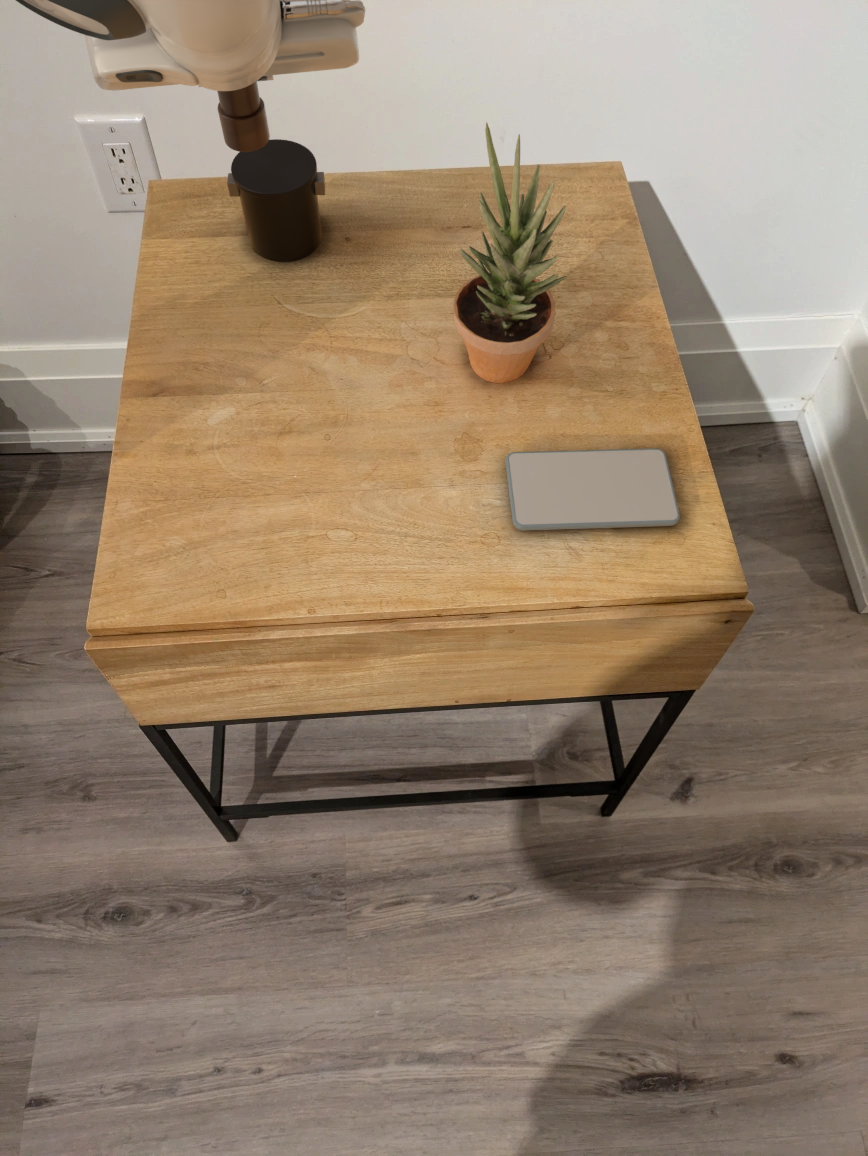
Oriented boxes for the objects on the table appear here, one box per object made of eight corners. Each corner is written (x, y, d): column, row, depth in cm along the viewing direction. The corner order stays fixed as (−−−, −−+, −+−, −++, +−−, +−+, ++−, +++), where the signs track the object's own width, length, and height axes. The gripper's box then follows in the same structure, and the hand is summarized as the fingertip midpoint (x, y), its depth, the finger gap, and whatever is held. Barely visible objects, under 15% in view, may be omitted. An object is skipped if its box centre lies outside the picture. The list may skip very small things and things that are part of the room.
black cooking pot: (238, 265, 91) (221, 194, 83) (243, 211, 95) (228, 139, 87) (329, 263, 91) (321, 192, 83) (330, 210, 95) (323, 138, 88)
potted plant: (440, 335, 86) (447, 98, 65) (528, 318, 87) (564, 81, 66) (467, 409, 82) (485, 181, 60) (560, 390, 83) (610, 160, 61)
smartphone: (682, 522, 75) (514, 527, 74) (679, 528, 75) (512, 533, 75) (664, 446, 79) (504, 450, 78) (662, 453, 79) (503, 457, 79)
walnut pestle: (222, 152, 74) (195, 33, 65) (226, 124, 76) (200, 5, 67) (268, 152, 74) (247, 33, 65) (271, 124, 76) (250, 4, 67)
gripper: (360, -54, 58) (352, 18, 71) (52, -29, 56) (103, 41, 69) (373, 50, 59) (363, 102, 73) (75, 78, 57) (120, 126, 71)
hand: (234, 73), depth 71 cm, fingers closed on walnut pestle, 3 cm apart
